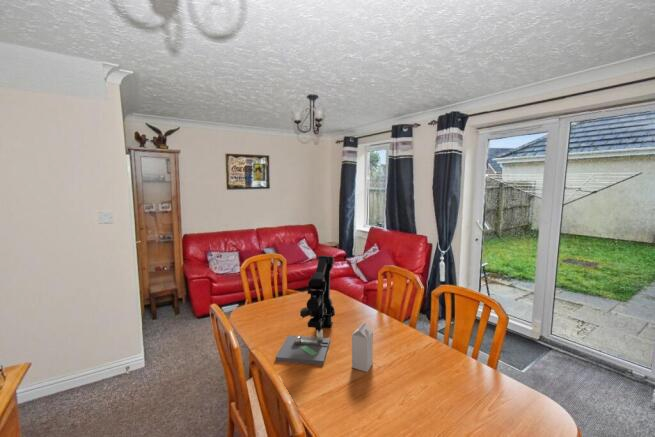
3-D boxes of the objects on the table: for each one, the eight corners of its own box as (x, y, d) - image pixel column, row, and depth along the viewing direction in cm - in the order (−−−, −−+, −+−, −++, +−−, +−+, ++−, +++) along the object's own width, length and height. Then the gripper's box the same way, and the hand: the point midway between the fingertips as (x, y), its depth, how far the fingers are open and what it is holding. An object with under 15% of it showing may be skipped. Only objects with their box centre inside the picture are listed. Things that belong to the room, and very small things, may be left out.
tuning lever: (292, 344, 145) (292, 330, 145) (295, 340, 149) (294, 326, 149) (327, 346, 143) (327, 332, 142) (328, 342, 147) (328, 328, 146)
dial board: (288, 339, 155) (288, 335, 155) (330, 342, 152) (330, 337, 151) (275, 361, 136) (275, 356, 135) (323, 365, 132) (323, 360, 132)
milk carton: (351, 368, 130) (351, 326, 128) (357, 359, 136) (357, 319, 134) (367, 372, 127) (367, 329, 124) (372, 363, 133) (373, 322, 131)
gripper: (305, 295, 157) (306, 323, 159) (296, 309, 139) (297, 341, 141) (326, 296, 156) (327, 325, 157) (320, 310, 137) (320, 343, 139)
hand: (318, 333), depth 148 cm, fingers closed
